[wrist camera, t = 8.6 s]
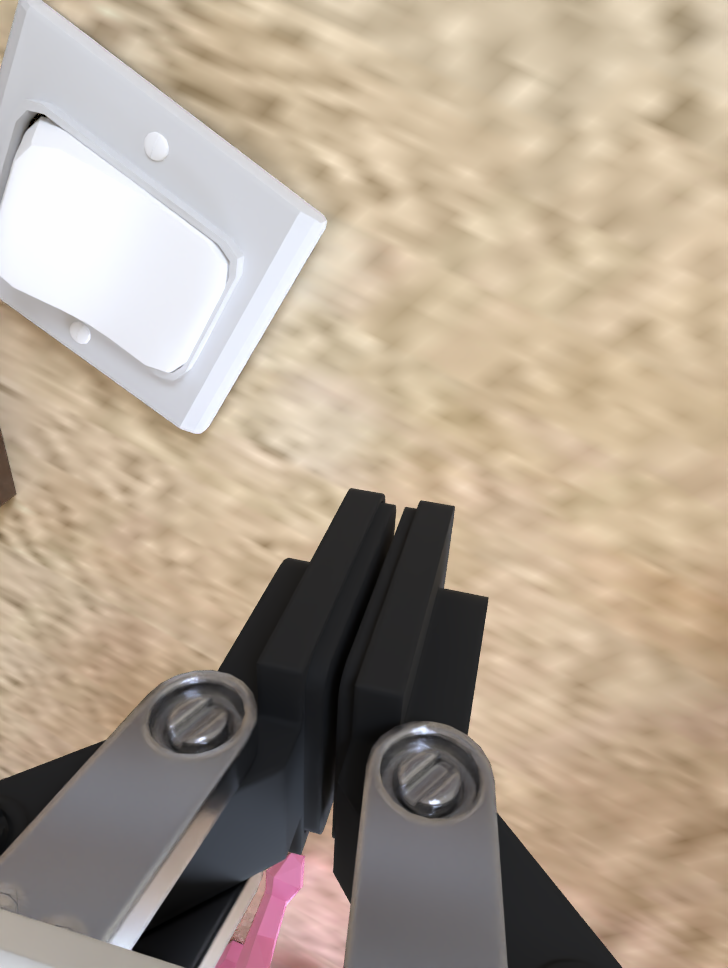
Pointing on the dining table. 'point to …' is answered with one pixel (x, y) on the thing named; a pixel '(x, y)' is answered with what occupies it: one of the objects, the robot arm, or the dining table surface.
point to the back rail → (5, 476)
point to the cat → (267, 917)
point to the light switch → (136, 223)
